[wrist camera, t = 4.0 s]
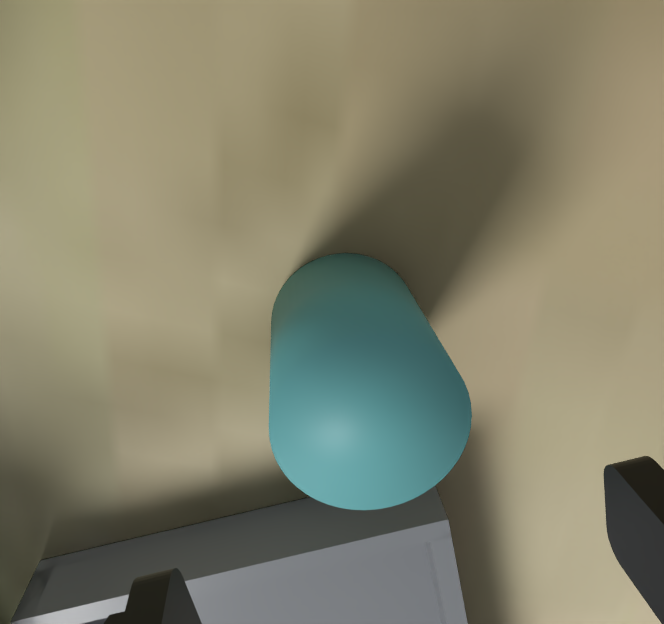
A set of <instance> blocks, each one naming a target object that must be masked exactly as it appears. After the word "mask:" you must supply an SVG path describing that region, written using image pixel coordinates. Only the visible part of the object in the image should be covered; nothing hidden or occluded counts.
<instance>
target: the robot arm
mask: <svg viewBox="0 0 664 624" xmlns="http://www.w3.org/2000/svg"><path fill="white" fill-rule="evenodd" d="M604 489H605V507H606V525H607V533H608V538H609V541H610V544H611V547H612V550H613V552H614V554H615V556H616V558H617V560H618V562H619V564H620V565H621V567H622V568H623V569H624V571H625V572H626V574H627V575H628V577H629V578H630V579H631V581H632V582H633V584H634V585H635V586H636V588H637V589H638V591H639V592H640V594H641V595H642V596H643V598H644V599H645V601H646V602H647V603H648V605H649V606H650V608H651V609H652V610H653V612H654V613H655V615H656V616H657V618H658V619H659V620H660V622H661V623H662V624H664V470H663V469H662V468H661V467H660V465H659V464H658V463H657V462H656V461H654V460H653V459H652V458H651V457H648V456H643V457H639V458H635V459H631V460H627V461H623V462H618V463H614V464H610V465H607V466H606V467H605V469H604ZM104 624H202V623H201V620H200V618H199V615H198V613H197V610H196V608H195V606H194V603H193V601H192V598H191V596H190V593H189V591H188V588H187V586H186V583H185V581H184V578H183V576H182V574H181V572H180V571H179V569H177V568H173V569H169V570H165V571H161V572H156V573H152V574H148V575H144V576H140V577H137V578H135V579H134V581H133V583H132V586H131V589H130V593H129V597H128V601H127V605H126V609H125V611H124V612H119V613H115V614H111V615H109V616H108V618H107V619H106V621H105V622H104Z"/></svg>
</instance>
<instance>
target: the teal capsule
mask: <svg viewBox="0 0 664 624" xmlns="http://www.w3.org/2000/svg"><path fill="white" fill-rule="evenodd" d="M471 418H472V412H471V402H470V398H469V393H468V390H467V388H466V385H465V383H464V381H463V379H462V377H461V376H460V374H459V372H458V371H457V369H456V367H455V366H454V364H453V362H452V361H451V359H450V357H449V356H448V354H447V352H446V351H445V349H444V347H443V346H442V344H441V342H440V341H439V339H438V337H437V336H436V334H435V332H434V331H433V329H432V327H431V326H430V324H429V322H428V321H427V319H426V317H425V316H424V314H423V312H422V311H421V309H420V307H419V306H418V304H417V302H416V301H415V299H414V297H413V296H412V294H411V292H410V291H409V289H408V287H407V286H406V284H405V282H404V281H403V280H402V279H401V277H400V276H399V275H398V274H397V273H396V272H395V271H394V270H393V269H391V268H390V267H389V266H387V265H386V264H384V263H382V262H380V261H379V260H377V259H374V258H371V257H368V256H365V255H360V254H352V253H339V254H332V255H327V256H324V257H321V258H318V259H316V260H313V261H311V262H309V263H308V264H306V265H304V266H303V267H301V268H300V269H299V270H297V271H296V272H295V273H294V274H293V275H292V276H291V277H290V278H289V279H288V280H287V281H286V283H285V284H284V285H283V287H282V288H281V290H280V292H279V294H278V296H277V298H276V301H275V303H274V307H273V311H272V319H271V356H270V401H269V436H270V442H271V447H272V451H273V453H274V456H275V459H276V461H277V463H278V465H279V466H280V468H281V470H282V471H283V473H284V474H285V475H286V476H287V478H288V479H289V480H290V481H291V482H292V483H293V484H294V485H295V486H296V487H297V488H299V489H300V490H301V491H303V492H304V493H305V494H307V495H309V496H310V497H312V498H314V499H316V500H318V501H320V502H323V503H325V504H328V505H331V506H335V507H339V508H344V509H351V510H375V509H382V508H388V507H392V506H395V505H399V504H402V503H405V502H407V501H409V500H412V499H414V498H416V497H418V496H420V495H421V494H423V493H425V492H426V491H428V490H429V489H431V488H432V487H434V486H435V485H436V484H437V483H438V482H440V481H441V480H442V479H443V478H444V477H445V476H446V475H447V474H448V473H449V472H450V470H451V469H452V468H453V467H454V465H455V464H456V462H457V461H458V459H459V458H460V456H461V454H462V452H463V450H464V448H465V446H466V443H467V440H468V437H469V433H470V428H471Z"/></svg>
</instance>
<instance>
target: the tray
mask: <svg viewBox="0 0 664 624" xmlns="http://www.w3.org/2000/svg"><path fill="white" fill-rule="evenodd" d="M173 568H177V569H179V571H180V572H181V574H182V576H183V578H184V581H185V583H186V586H187V588H188V591H189V593H190V596H191V598H192V601H193V603H194V606H195V608H196V610H197V613H198V615H199V618H200V620H201V623H202V624H468V623H467V617H466V612H465V607H464V601H463V596H462V590H461V585H460V580H459V574H458V569H457V564H456V558H455V553H454V547H453V542H452V537H451V531H450V526H449V521H448V517H447V515H446V512H445V510H444V507H443V504H442V502H441V499H440V496H439V494H438V491H437V489H436V486H434V487H432V488H431V489H429V490H428V491H426V492H425V493H423V494H421V495H420V496H418V497H416V498H414V499H412V500H409V501H407V502H405V503H402V504H399V505H395V506H392V507H388V508H382V509H375V510H351V509H344V508H339V507H335V506H331V505H328V504H325V503H323V502H320V501H318V500H316V499H314V498H312V497H309V498H304V499H300V500H296V501H292V502H287V503H283V504H279V505H275V506H270V507H266V508H262V509H258V510H253V511H249V512H245V513H241V514H236V515H232V516H228V517H224V518H219V519H215V520H211V521H207V522H202V523H198V524H194V525H190V526H185V527H181V528H177V529H173V530H168V531H164V532H160V533H156V534H151V535H147V536H143V537H139V538H134V539H130V540H126V541H122V542H117V543H113V544H109V545H105V546H100V547H96V548H92V549H88V550H83V551H79V552H75V553H71V554H66V555H62V556H58V557H54V558H49V559H45V560H41V561H40V562H39V564H38V566H37V568H36V570H35V572H34V574H33V576H32V578H31V581H30V583H29V585H28V587H27V589H26V591H25V593H24V595H23V597H22V599H21V601H20V603H19V605H18V608H17V610H16V612H15V614H14V616H13V618H12V620H11V622H10V623H11V624H104V622H105V621H106V619H107V618H108V616H109V615H111V614H115V613H119V612H124V611H125V609H126V605H127V601H128V597H129V593H130V589H131V586H132V583H133V581H134V579H135V578H137V577H140V576H144V575H148V574H152V573H156V572H161V571H165V570H169V569H173Z"/></svg>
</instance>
